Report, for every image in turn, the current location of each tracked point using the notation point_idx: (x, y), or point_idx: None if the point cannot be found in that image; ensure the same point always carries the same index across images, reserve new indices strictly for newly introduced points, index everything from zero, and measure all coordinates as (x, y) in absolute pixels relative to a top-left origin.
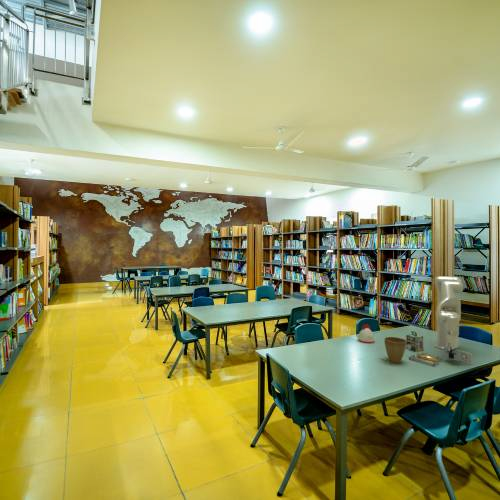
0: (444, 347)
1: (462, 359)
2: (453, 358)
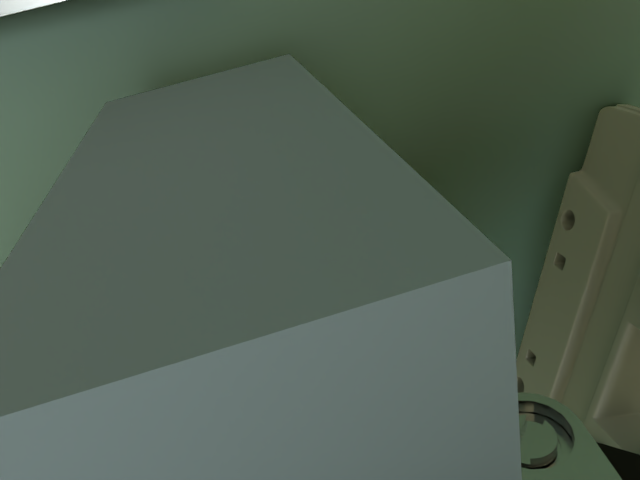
0: (40, 428)
1: (572, 322)
2: None
